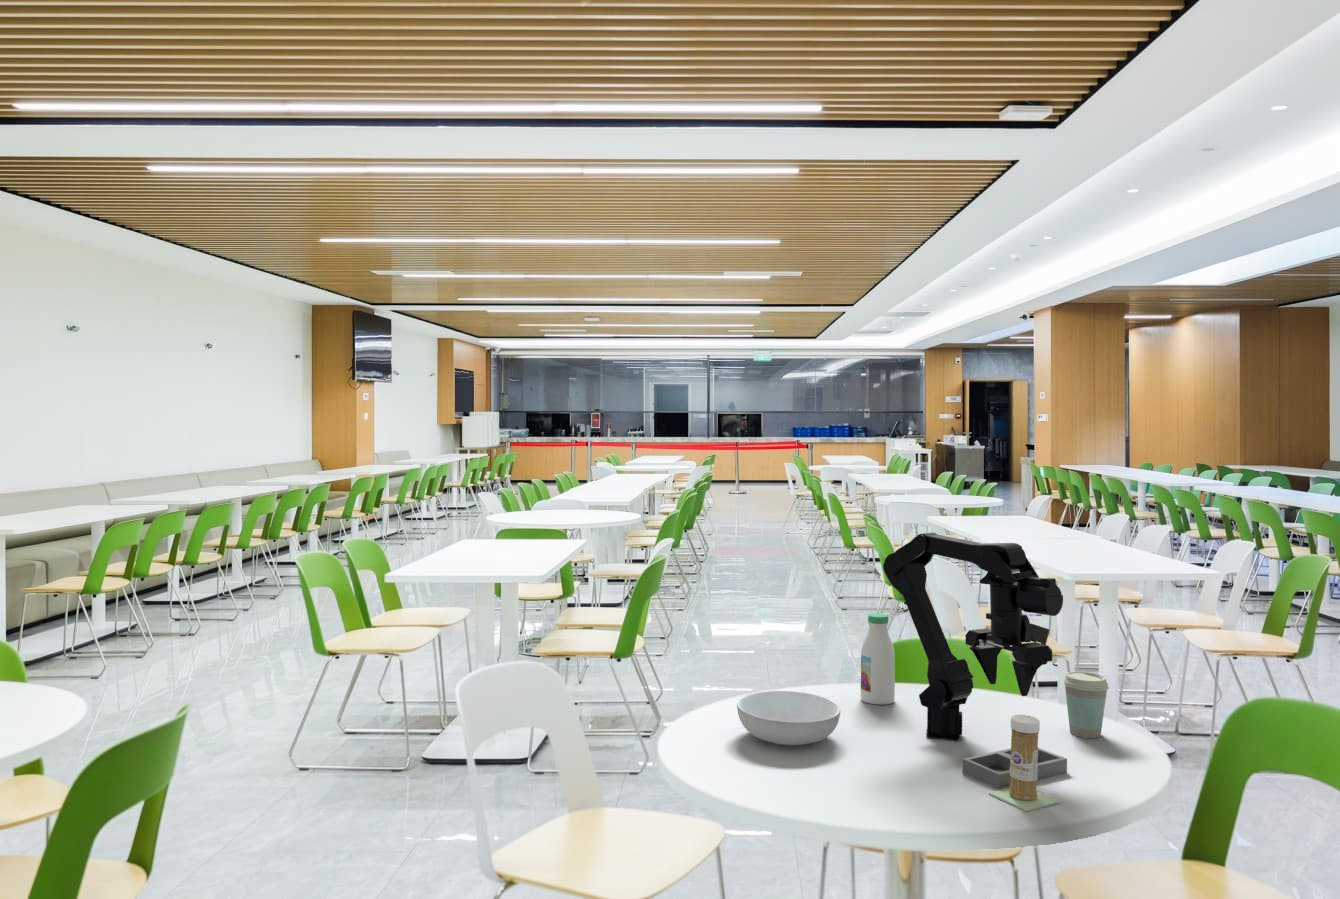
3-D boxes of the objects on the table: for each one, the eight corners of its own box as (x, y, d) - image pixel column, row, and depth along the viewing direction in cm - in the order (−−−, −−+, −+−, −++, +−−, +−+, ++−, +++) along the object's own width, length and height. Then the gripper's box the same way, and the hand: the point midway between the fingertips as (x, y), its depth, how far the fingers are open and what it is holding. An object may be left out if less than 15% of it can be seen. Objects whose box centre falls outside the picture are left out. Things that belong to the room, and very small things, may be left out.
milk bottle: (896, 697, 213) (896, 612, 212) (892, 707, 205) (893, 619, 205) (862, 694, 215) (863, 610, 215) (858, 703, 208) (859, 616, 208)
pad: (1022, 786, 160) (1022, 784, 160) (1060, 802, 152) (1060, 801, 152) (989, 794, 156) (989, 792, 156) (1026, 811, 149) (1026, 810, 149)
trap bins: (1029, 757, 174) (1029, 744, 174) (1066, 772, 166) (1067, 758, 166) (962, 772, 166) (962, 758, 166) (998, 788, 158) (999, 774, 158)
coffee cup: (1113, 742, 182) (1113, 682, 182) (1068, 739, 184) (1068, 680, 184) (1101, 728, 191) (1102, 671, 191) (1058, 725, 193) (1059, 669, 192)
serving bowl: (793, 764, 170) (793, 728, 170) (715, 736, 185) (715, 703, 185) (861, 740, 183) (861, 706, 183) (783, 715, 199) (783, 684, 199)
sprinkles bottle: (1004, 796, 154) (1006, 718, 154) (1014, 788, 158) (1016, 712, 157) (1032, 804, 151) (1034, 724, 151) (1041, 796, 155) (1043, 717, 154)
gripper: (1075, 613, 168) (1077, 697, 168) (1009, 598, 186) (1011, 674, 186) (1025, 618, 165) (1027, 704, 165) (962, 602, 182) (964, 680, 182)
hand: (1008, 689), depth 174 cm, fingers open, 9 cm apart
